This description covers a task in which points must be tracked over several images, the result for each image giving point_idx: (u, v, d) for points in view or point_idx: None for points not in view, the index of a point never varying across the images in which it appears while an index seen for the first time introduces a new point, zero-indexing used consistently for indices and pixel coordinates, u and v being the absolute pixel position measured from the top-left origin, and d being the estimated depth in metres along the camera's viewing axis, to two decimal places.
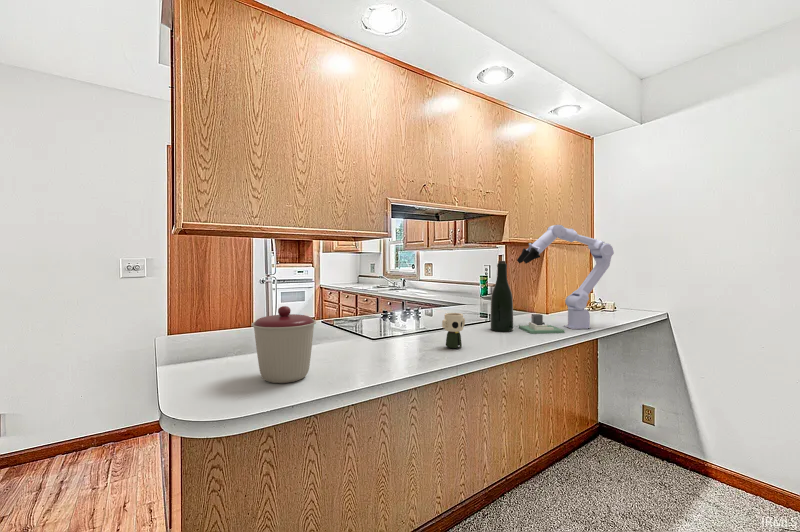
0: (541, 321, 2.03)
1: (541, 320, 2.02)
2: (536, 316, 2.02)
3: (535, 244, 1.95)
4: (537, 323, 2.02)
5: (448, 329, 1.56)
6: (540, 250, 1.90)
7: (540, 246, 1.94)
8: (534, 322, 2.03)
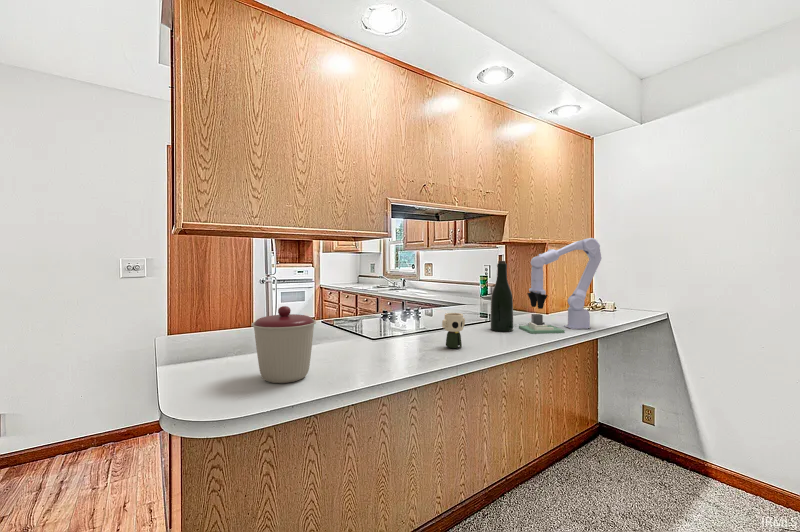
0: (541, 321, 2.03)
1: (541, 320, 2.02)
2: (536, 316, 2.02)
3: (534, 287, 2.02)
4: (537, 323, 2.02)
5: (448, 329, 1.56)
6: (543, 292, 1.97)
7: (539, 286, 2.01)
8: (534, 322, 2.03)
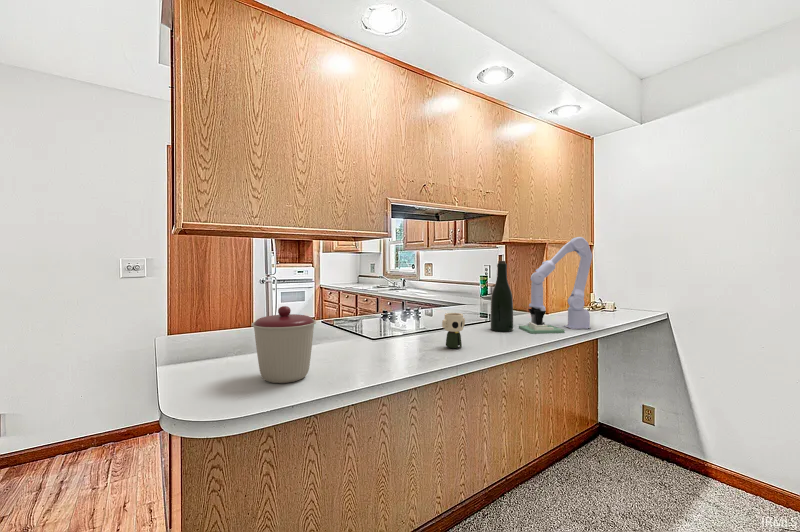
0: None
1: None
2: None
3: (534, 303, 2.02)
4: None
5: (448, 329, 1.56)
6: (543, 308, 1.97)
7: (539, 302, 2.01)
8: (534, 322, 2.03)
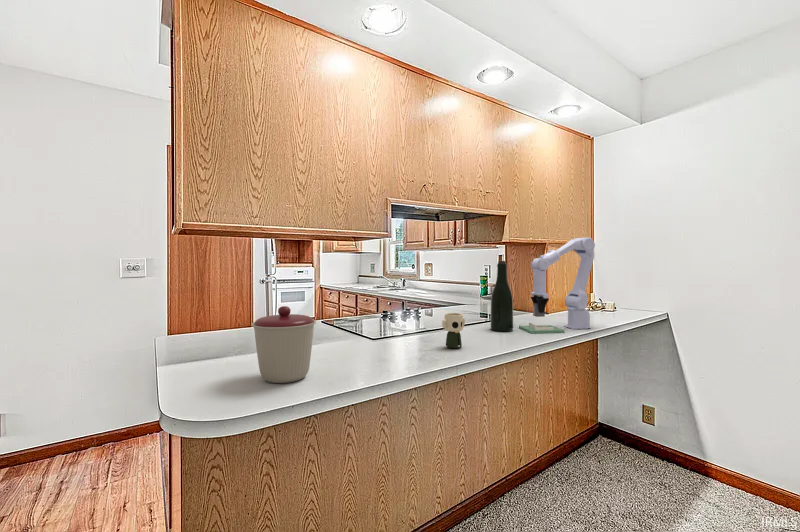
0: None
1: None
2: None
3: (536, 290, 1.93)
4: None
5: (448, 329, 1.56)
6: (546, 296, 1.88)
7: (541, 289, 1.92)
8: (536, 311, 1.93)
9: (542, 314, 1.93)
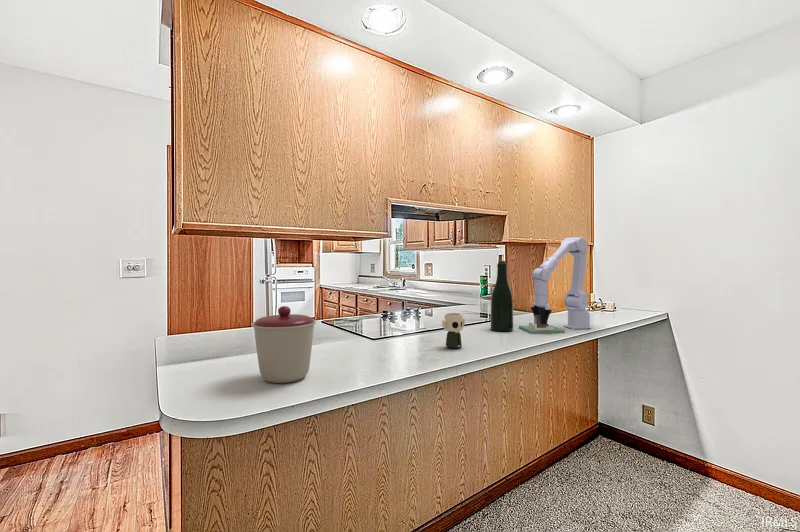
0: None
1: None
2: (539, 317, 1.89)
3: (538, 301, 1.89)
4: (540, 324, 1.89)
5: (448, 329, 1.56)
6: (548, 307, 1.84)
7: (543, 300, 1.88)
8: (537, 323, 1.89)
9: (543, 326, 1.89)
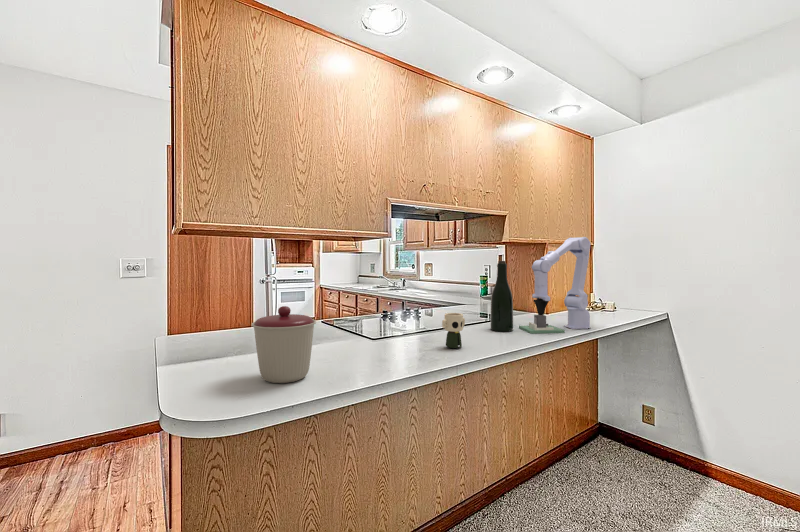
0: (545, 322, 1.89)
1: (544, 321, 1.89)
2: (539, 317, 1.89)
3: (538, 293, 1.89)
4: (540, 324, 1.89)
5: (448, 329, 1.56)
6: (548, 298, 1.83)
7: (543, 291, 1.88)
8: (537, 323, 1.89)
9: (543, 326, 1.89)
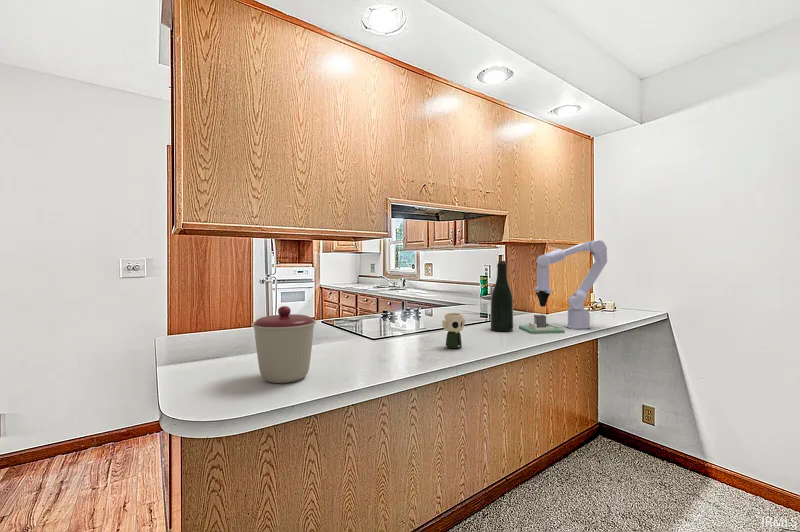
0: (545, 322, 1.89)
1: (544, 321, 1.89)
2: (539, 317, 1.89)
3: (540, 286, 2.02)
4: (540, 324, 1.89)
5: (448, 329, 1.56)
6: (549, 291, 1.97)
7: (545, 284, 2.01)
8: (537, 323, 1.89)
9: (543, 326, 1.89)
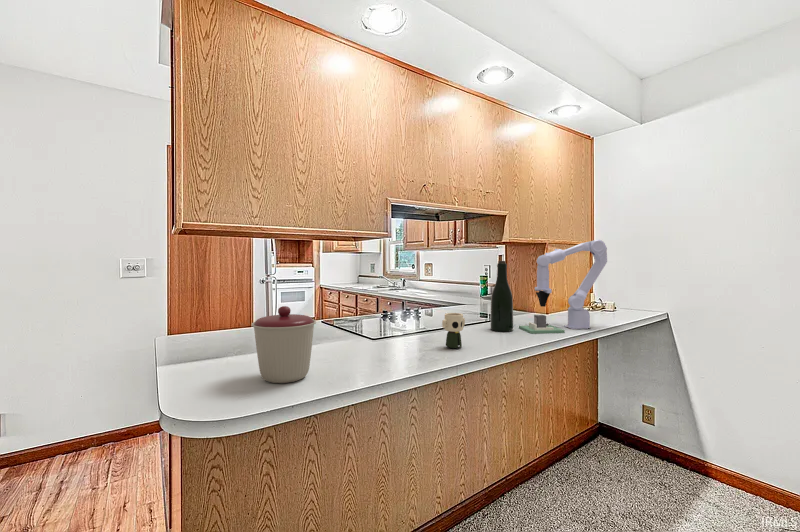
0: (545, 322, 1.89)
1: (544, 321, 1.89)
2: (539, 317, 1.89)
3: (540, 286, 2.02)
4: (540, 324, 1.89)
5: (448, 329, 1.56)
6: (549, 291, 1.97)
7: (545, 284, 2.01)
8: (537, 323, 1.89)
9: (543, 326, 1.89)
